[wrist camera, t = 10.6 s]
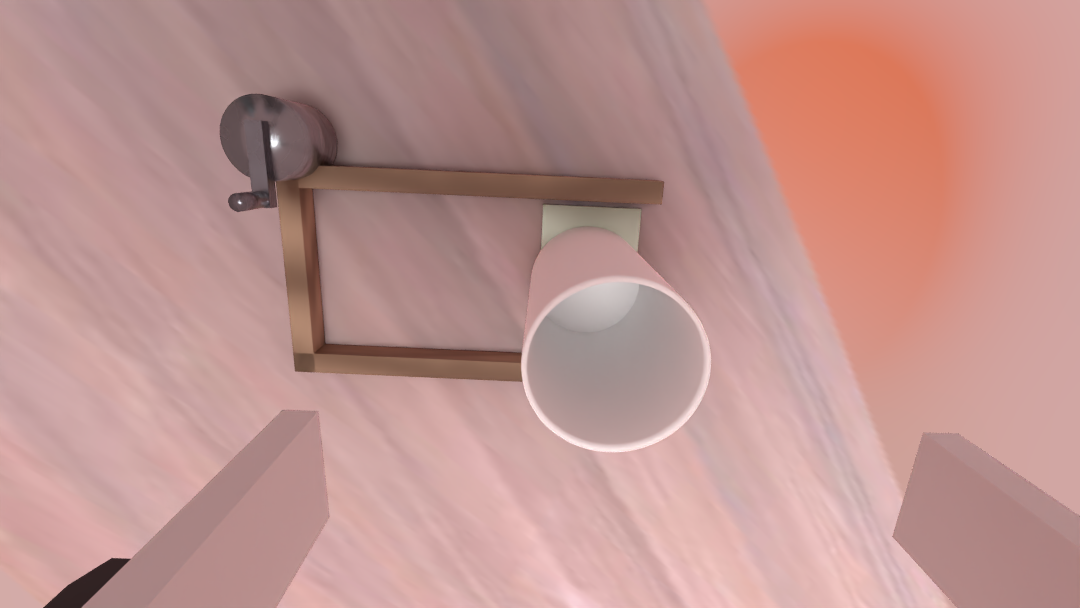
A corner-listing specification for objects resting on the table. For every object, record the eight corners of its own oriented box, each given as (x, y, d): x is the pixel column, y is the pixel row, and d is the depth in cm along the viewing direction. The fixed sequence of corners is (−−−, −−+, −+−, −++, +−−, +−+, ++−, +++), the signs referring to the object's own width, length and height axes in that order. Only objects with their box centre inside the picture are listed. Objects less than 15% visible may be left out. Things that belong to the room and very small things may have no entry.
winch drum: (261, 101, 34) (175, 83, 26) (334, 105, 34) (270, 88, 26) (271, 198, 36) (193, 209, 28) (341, 201, 36) (283, 213, 28)
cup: (665, 278, 37) (752, 364, 21) (588, 354, 38) (616, 485, 23) (584, 202, 35) (615, 234, 20) (508, 285, 37) (481, 375, 21)
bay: (289, 163, 35) (274, 163, 33) (657, 180, 35) (664, 181, 33) (307, 361, 39) (295, 371, 37) (636, 375, 39) (641, 386, 37)
